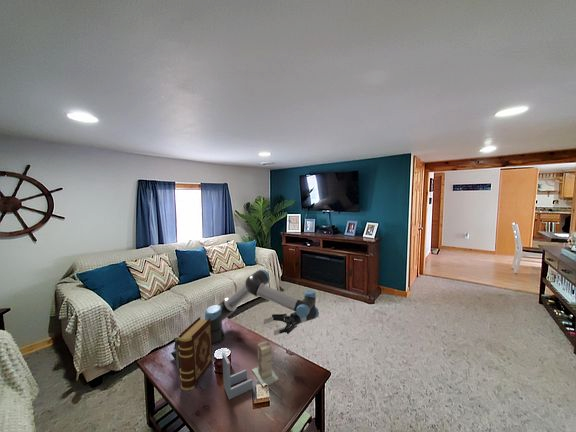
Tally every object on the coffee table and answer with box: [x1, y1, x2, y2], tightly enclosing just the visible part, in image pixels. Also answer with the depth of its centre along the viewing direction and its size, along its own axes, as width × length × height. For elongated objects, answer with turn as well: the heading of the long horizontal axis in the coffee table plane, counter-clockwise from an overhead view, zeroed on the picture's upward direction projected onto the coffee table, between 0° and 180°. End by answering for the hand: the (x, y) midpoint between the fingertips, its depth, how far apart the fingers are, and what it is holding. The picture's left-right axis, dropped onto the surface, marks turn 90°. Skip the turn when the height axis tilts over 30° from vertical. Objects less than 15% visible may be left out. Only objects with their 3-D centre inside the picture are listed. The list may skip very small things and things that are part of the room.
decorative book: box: [177, 316, 213, 392], centre depth 137 cm, size 22×8×30 cm, turn 168°
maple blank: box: [257, 340, 273, 379], centre depth 137 cm, size 6×6×18 cm
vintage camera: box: [170, 336, 181, 370], centre depth 150 cm, size 10×16×20 cm, turn 45°
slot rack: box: [221, 352, 253, 400], centre depth 128 cm, size 9×13×20 cm
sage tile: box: [251, 366, 280, 386], centre depth 138 cm, size 15×10×1 cm, turn 32°
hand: (268, 327), depth 142 cm, fingers open, 13 cm apart
